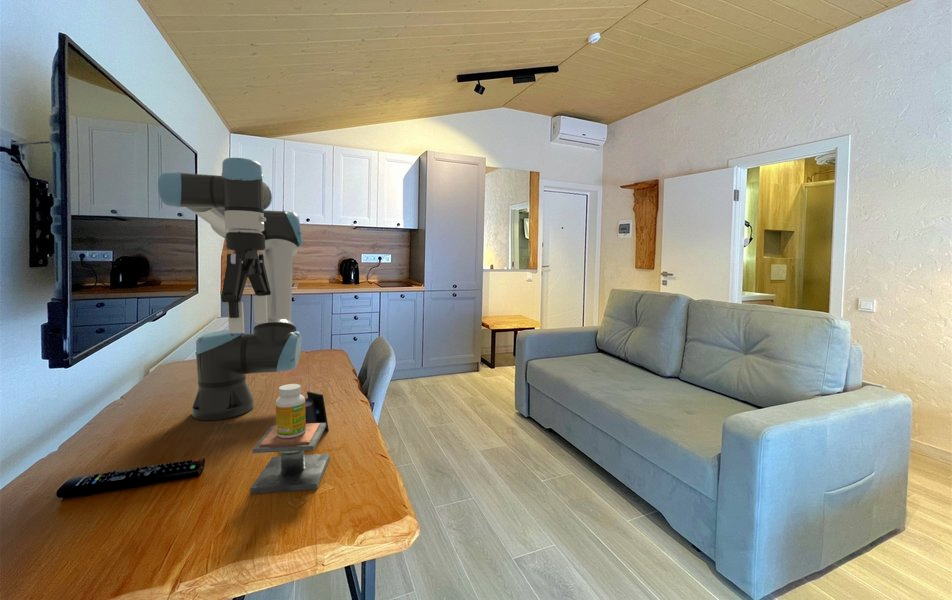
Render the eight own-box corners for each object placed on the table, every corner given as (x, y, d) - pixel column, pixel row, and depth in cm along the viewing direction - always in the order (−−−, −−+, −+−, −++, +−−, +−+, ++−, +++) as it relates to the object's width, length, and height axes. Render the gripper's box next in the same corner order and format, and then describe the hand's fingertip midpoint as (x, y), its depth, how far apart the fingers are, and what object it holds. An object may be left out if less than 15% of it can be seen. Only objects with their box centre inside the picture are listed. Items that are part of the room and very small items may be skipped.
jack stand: (272, 462, 88) (270, 422, 87) (329, 458, 90) (328, 419, 89) (250, 494, 76) (248, 448, 75) (317, 489, 78) (315, 444, 77)
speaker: (320, 423, 108) (315, 387, 106) (329, 431, 104) (324, 394, 102) (290, 434, 103) (285, 396, 101) (299, 443, 99) (293, 404, 96)
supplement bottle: (294, 440, 79) (293, 392, 78) (270, 437, 80) (268, 389, 79) (311, 428, 84) (310, 383, 83) (288, 426, 85) (287, 381, 84)
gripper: (239, 228, 77) (244, 337, 79) (281, 235, 101) (285, 318, 104) (196, 227, 76) (203, 338, 78) (250, 234, 100) (253, 319, 102)
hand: (250, 327), depth 91 cm, fingers open, 13 cm apart
